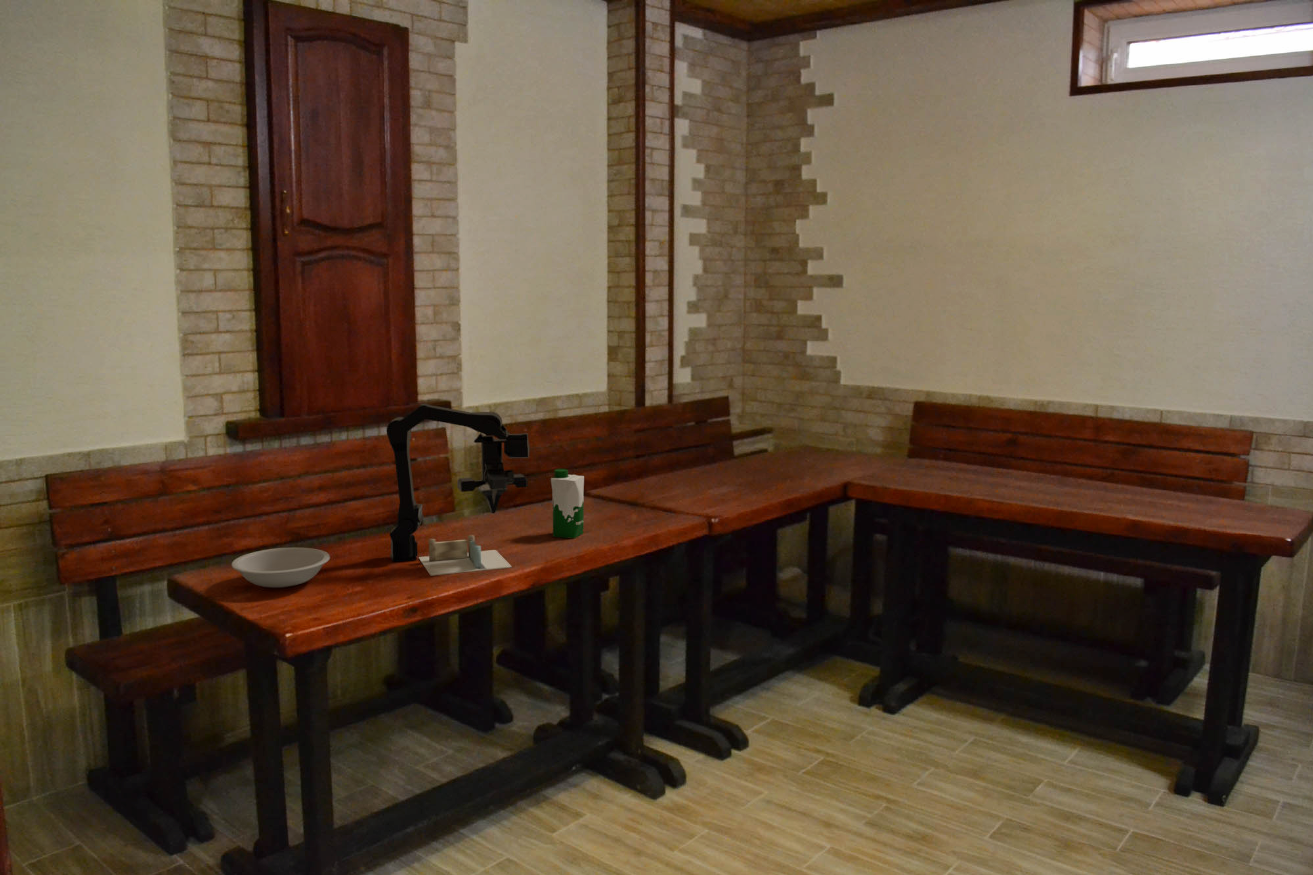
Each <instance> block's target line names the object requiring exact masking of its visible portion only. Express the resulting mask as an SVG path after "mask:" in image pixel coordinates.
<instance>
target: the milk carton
mask: <svg viewBox="0 0 1313 875" xmlns="http://www.w3.org/2000/svg"><path fill="white" fill-rule="evenodd" d="M550 483H551V484H550V485H551V489H552V490H551V491H552V537H553V538H562V539H563V538H565V539H576V538H578V537H579V536H581V535H583V534H584V527H585V526H584V523H585V522H584V521H585V520H584V519H585V518H584V512H585V510H584V509H585V508H584V507H585V506H584V502H585V501H584V497H585V496H584V492H585V491H584V486H585V476H584V475H577V474H569V470H568V469H566V468H557V469H554V476H553V477H551V478H550Z"/></svg>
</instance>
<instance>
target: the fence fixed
mask: <svg viewBox="0 0 1313 875" xmlns="http://www.w3.org/2000/svg"><path fill="white" fill-rule="evenodd" d="M475 540H476V539H475V535H473V534H471V535H468V536H467V539H457V540H447V541H436V539H435V538H429V539H428V556H429V561H437V560H447V559H457V558H468V554H469V557H470V541H475ZM475 542H476V541H475Z"/></svg>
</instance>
